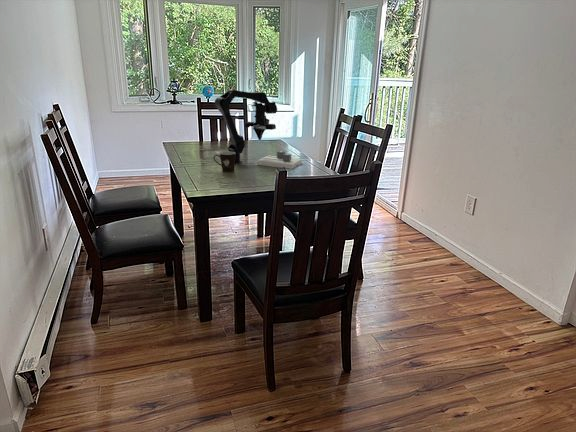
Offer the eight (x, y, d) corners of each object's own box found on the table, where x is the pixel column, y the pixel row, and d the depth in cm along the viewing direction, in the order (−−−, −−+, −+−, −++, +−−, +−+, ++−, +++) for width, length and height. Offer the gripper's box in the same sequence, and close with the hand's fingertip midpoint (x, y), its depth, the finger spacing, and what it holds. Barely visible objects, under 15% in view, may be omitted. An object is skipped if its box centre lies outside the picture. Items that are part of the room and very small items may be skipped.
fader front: (289, 161, 251) (289, 155, 250) (282, 160, 253) (282, 154, 252) (291, 160, 254) (291, 154, 253) (284, 159, 256) (284, 153, 254)
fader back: (283, 158, 259) (283, 152, 258) (277, 157, 260) (277, 151, 259) (285, 157, 262) (285, 151, 260) (279, 156, 263) (279, 150, 262)
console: (291, 168, 246) (292, 164, 245) (257, 164, 254) (257, 160, 253) (301, 163, 260) (301, 158, 259) (268, 159, 268) (268, 155, 267)
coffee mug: (239, 170, 239) (238, 152, 236) (229, 173, 232) (229, 155, 229) (222, 167, 245) (222, 150, 241) (212, 170, 238) (212, 152, 234)
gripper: (280, 114, 261) (279, 139, 266) (252, 111, 268) (252, 136, 273) (271, 115, 251) (271, 142, 256) (244, 113, 258) (243, 139, 263)
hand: (259, 139), depth 262 cm, fingers closed
